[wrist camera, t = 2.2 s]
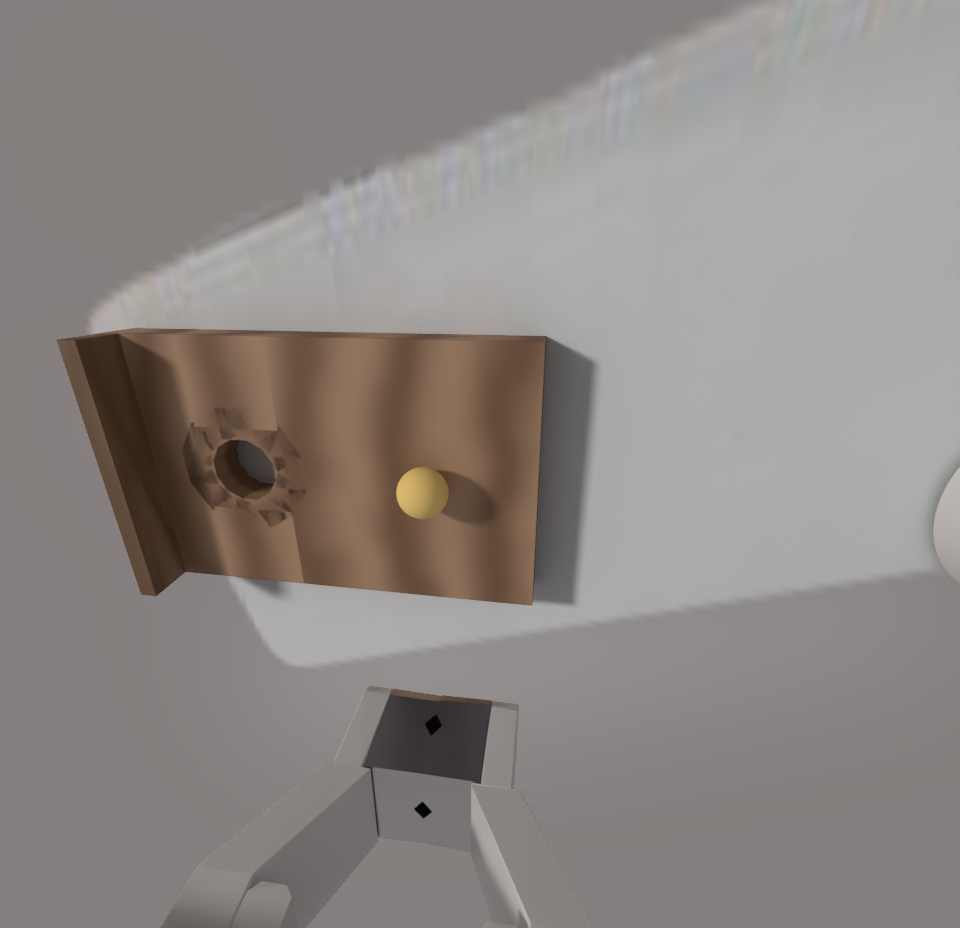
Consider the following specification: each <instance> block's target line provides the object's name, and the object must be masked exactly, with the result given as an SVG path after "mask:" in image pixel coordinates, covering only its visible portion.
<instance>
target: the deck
mask: <svg viewBox="0 0 960 928" xmlns="http://www.w3.org/2000/svg"><path fill="white" fill-rule="evenodd" d="M57 343H58V345H59V349H60V352H61V355H62V358H63V361H64V363H65V366H66V370H67V372H68V376H69V378H70V382H71V385H72V388H73V391H74V394H75V397H76V400H77V403H78V406H79V409H80V412H81V415H82V418H83V421H84V424H85V427H86V430H87V433H88V436H89V439H90V442H91V445H92V448H93V451H94V454H95V457H96V460H97V463H98V466H99V468H100V472H101V475H102V478H103V481H104V484H105V487H106V490H107V493H108V496H109V499H110V501H111V505H112V508H113V511H114V514H115V517H116V520H117V523H118V526H119V529H120V532H121V535H122V538H123V541H124V544H125V547H126V550H127V553H128V556H129V559H130V562H131V565H132V568H133V571H134V574H135V577H136V580H137V583H138V586H139V589H140V592H141V594H143V595H152V596H157V595H158V594H159V593H160V592H162V591H163V590H164V589H165V588H166V587H168V586H169V585H170V584H171V583H173V582H174V581H175V580H176V579H177V578H178V577H180V576H181V575H182V574H184V572H195V573H205V574H215V575H225V576H235V577H245V578H256V579H266V580H276V581H286V582H297V583H307V584H317V585H327V586H337V587H348V588H358V589H368V590H378V591H389V592H399V593H409V594H419V595H430V596H440V597H450V598H460V599H470V600H481V601H491V602H501V603H511V604H522V605H532V600H533V588H534V571H535V551H536V531H537V511H538V491H539V471H540V451H541V432H542V412H543V392H544V372H545V352H546V336H504V335H452V334H400V333H349V332H297V331H246V330H194V329H142V328H132V329H126V330H119V331H112V332H106V333H99V334H93V335H86V336H80V337H73V338H67V339H59V340H57ZM238 440H245V441H248V442H249V443H251V444H253V445H255V446H256V447H258V448H260V449H262V451H263V452H264V453H265V455H266V456H267V457H268V459H269V460H270V461H271V463H272V464H273V469H274V475H275V483H274V485H273V484H262V483H260V482H259V481H257V480H255V479H253V478H252V477H250V476H248V474H247V473H246V472H245V470H244V469H243V468H242V466H241V465H240V464H239V462H238V457H237V452H236V445H237V443H238ZM418 467H427V468H431V469H434V470H436V471H437V472H439V473H440V474H441V475H442V476H443V477H444V479H445V481H446V483H447V485H448V491H449V494H448V500H447V503H446V505H445V507H444V508H443V510H442V511H441V512H440V513H438V514H437V515H435V516H434V517H431V518H428V519H417V518H413V517H411V516H409V515H408V514H406V513H405V512H404V511H403V510H402V509H401V507H400V506H399V504H398V501H397V496H396V490H397V486H398V483H399V481H400V479H401V478H402V476H403V475H404V474H405V473H407V472H408V471H410V470H412V469H414V468H418Z"/></svg>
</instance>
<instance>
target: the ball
mask: <svg viewBox="0 0 960 928" xmlns="http://www.w3.org/2000/svg"><path fill="white" fill-rule="evenodd" d="M448 494H449V491H448V485H447V483H446V481H445V479H444V477H443V476H442V475H441V474H440V473H439V472H437V471H436V470H434V469H431V468H427V467H418V468H414V469H412V470H410V471H408V472H407V473H405V474H404V475H403V476H402V478H401V479H400V481H399V483H398V486H397V490H396V496H397V501H398V504H399V506H400V507H401V509H402V510H403V511H404V512H405V513H406V514H408V515H409V516H411V517H413V518H417V519H428V518H431V517H434V516H435V515H437V514H438V513H440V512H441V511H442V510H443V508H444V507H445V505H446V503H447V500H448Z"/></svg>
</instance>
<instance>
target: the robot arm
mask: <svg viewBox="0 0 960 928" xmlns="http://www.w3.org/2000/svg"><path fill="white" fill-rule="evenodd" d="M933 537H934V545H935V549H936V552H937V555H938V558H939V560H940V562H941V564H942V566H943V567H944V569H945V570H946V571H947V573H948V574H949V575H950V576H951V577H952V578H953V579H954V581H956V582H957V583H958V584H959V585H960V467H959V468H958V470H957V471H956V472H955V474H954V475H953V477H952V478H951V480H950V481H949V483H948V485H947V486H946V488H945V490H944V492H943V494H942V496H941V499H940V501H939V504H938V507H937V510H936V514H935V519H934V528H933ZM518 711H519V707H518V704H511V703H503V702H495V701H493V702H492V701H490V700H480V699H471V698H461V697H452V696H437V695H430V694H424V693H416V692H410V691H404V690H397V689H389V688H381V687H373V686H369V687H368V688H367V689H366V691H365V692H364V693H363V695H362V698H361V700H360V702H359V705H358V707H357V709H356V711H355V714H354V716H353V718H352V720H351V723H350V725H349V727H348V729H347V732H346V734H345V736H344V738H343V741H342V743H341V745H340V748H339V750H338V752H337V754H336V757H335V759H334V761H333V763H330V762H325V763H323V764H322V765H321V766H320V767H318V768H317V769H316V770H315V771H313V772H312V773H311V774H310V775H309V776H307V777H306V778H305V779H304V780H302V781H301V782H300V783H299V784H298V785H296V786H295V787H294V788H293V789H292V790H290V791H289V792H288V793H286V794H285V795H284V796H283V797H281V798H280V799H279V800H278V801H277V802H275V803H274V804H273V805H272V806H270V807H269V808H268V809H267V810H265V811H264V812H263V813H262V814H261V815H259V816H258V817H257V818H256V819H255V820H253V821H252V822H251V823H249V824H248V825H247V826H246V827H245V828H243V829H242V830H241V831H240V832H238V833H237V834H236V835H235V836H234V837H232V838H231V839H230V840H229V841H227V842H226V843H225V844H224V845H223V846H221V847H220V848H219V849H218V850H216V851H215V852H214V853H213V854H211V855H210V856H209V857H208V858H207V859H205V860H204V861H203V862H202V863H200V864H199V865H198V866H197V867H196V869H195V871H194V872H193V874H192V876H191V878H190V879H189V881H188V883H187V884H186V886H185V888H184V889H183V891H182V893H181V894H180V896H179V898H178V899H177V901H176V903H175V904H174V906H173V908H172V910H171V911H170V913H169V915H168V916H167V918H166V920H165V921H164V923H163V925H162V926H161V928H306V927H307V926H308V925H309V924H310V922H311V921H312V920H313V919H314V918H315V916H316V915H317V914H318V913H319V912H320V910H321V909H322V908H323V907H324V906H325V904H326V903H327V902H328V901H329V900H330V898H331V897H332V896H333V895H334V894H335V892H336V891H337V890H338V888H339V887H340V886H341V885H342V884H343V883H344V882H345V880H346V879H347V878H348V877H349V876H350V874H351V873H352V872H353V871H354V870H355V868H356V867H357V866H358V865H359V864H360V862H361V861H362V860H363V859H364V858H365V856H366V855H367V854H368V853H369V852H370V850H371V849H372V848H373V847H374V846H375V844H376V843H377V842H378V837H379V838H386V839H394V840H403V841H410V842H418V843H425V844H431V845H436V846H441V847H446V848H451V849H456V850H462V851H467V852H471V857H472V860H473V863H474V866H475V869H476V872H477V875H478V879H479V881H480V884H481V888H482V891H483V894H484V897H485V900H486V903H487V906H488V909H489V912H490V915H491V918H492V922H489V921H488V922H487V923H486V924H485V925H484V926H483V927H482V928H591V927H590V925H589V923H588V921H587V919H586V917H585V915H584V913H583V911H582V909H581V907H580V905H579V903H578V901H577V899H576V897H575V895H574V893H573V892H572V889H571V887H570V885H569V883H568V881H567V879H566V878H565V875H564V873H563V872H562V870H561V868H560V866H559V864H558V862H557V860H556V858H555V856H554V854H553V852H552V850H551V848H550V846H549V844H548V842H547V840H546V838H545V837H544V834H543V832H542V830H541V828H540V827H539V824H538V822H537V820H536V819H535V816H534V814H533V812H532V811H531V809H530V807H529V805H528V803H527V801H526V799H525V797H524V795H523V793H522V791H521V790H518V789H514V780H515V763H516V746H517V729H518Z"/></svg>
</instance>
